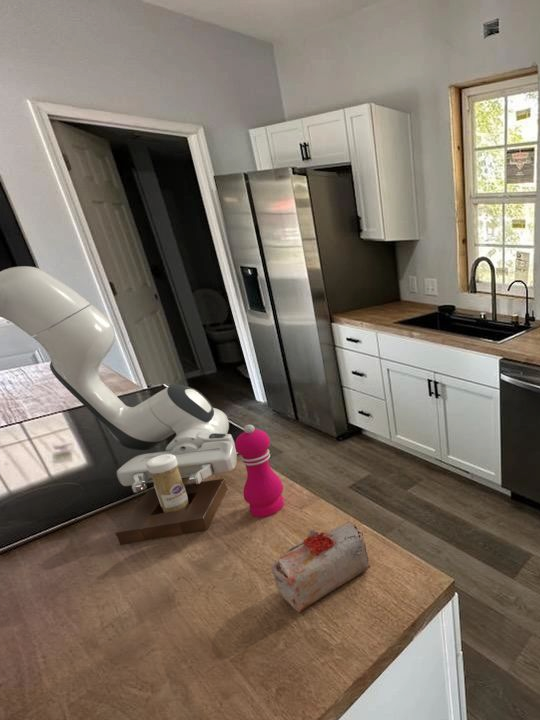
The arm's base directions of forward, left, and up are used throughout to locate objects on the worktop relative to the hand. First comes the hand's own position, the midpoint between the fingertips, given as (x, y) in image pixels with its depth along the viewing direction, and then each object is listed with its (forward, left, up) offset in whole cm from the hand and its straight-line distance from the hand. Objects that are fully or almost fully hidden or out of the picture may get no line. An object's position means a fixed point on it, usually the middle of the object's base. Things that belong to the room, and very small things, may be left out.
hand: (166, 485), depth 82 cm
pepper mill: (+13, +11, -8) cm, 19 cm away
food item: (+40, +3, -8) cm, 41 cm away
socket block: (-1, +1, -8) cm, 8 cm away
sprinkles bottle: (-1, +1, -8) cm, 8 cm away
